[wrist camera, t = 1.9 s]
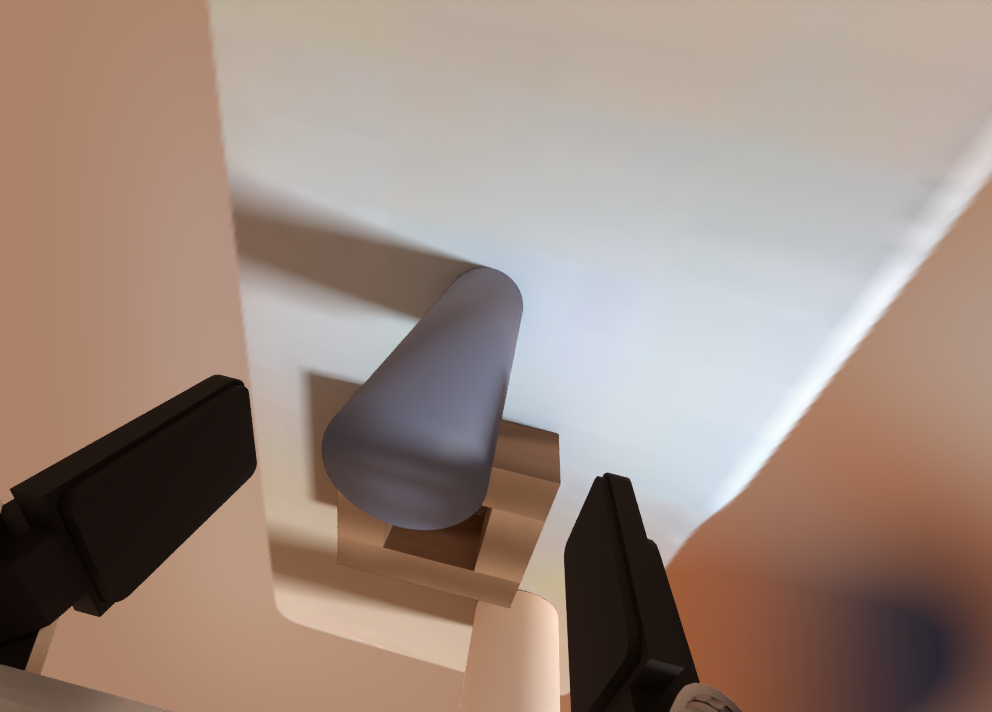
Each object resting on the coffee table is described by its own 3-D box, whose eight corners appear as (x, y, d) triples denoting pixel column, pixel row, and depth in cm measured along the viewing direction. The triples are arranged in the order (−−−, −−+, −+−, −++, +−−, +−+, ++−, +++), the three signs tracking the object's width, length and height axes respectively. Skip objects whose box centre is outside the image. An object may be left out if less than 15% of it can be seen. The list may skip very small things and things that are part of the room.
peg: (453, 259, 18) (319, 378, 8) (531, 277, 18) (505, 425, 7) (443, 330, 20) (323, 507, 9) (513, 347, 20) (472, 545, 9)
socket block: (370, 387, 22) (336, 427, 19) (558, 434, 22) (560, 483, 19) (364, 514, 28) (337, 563, 24) (514, 553, 28) (509, 608, 24)
